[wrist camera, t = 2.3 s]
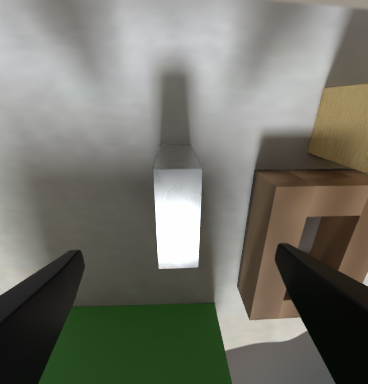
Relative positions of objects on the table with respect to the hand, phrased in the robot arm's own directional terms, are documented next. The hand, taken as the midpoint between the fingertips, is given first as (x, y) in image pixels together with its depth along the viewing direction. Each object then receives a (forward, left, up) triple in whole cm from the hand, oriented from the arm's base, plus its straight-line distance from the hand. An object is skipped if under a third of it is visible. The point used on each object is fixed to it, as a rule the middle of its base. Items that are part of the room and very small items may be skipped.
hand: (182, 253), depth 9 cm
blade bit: (0, 0, -10) cm, 10 cm away
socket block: (-12, +6, -9) cm, 16 cm away
